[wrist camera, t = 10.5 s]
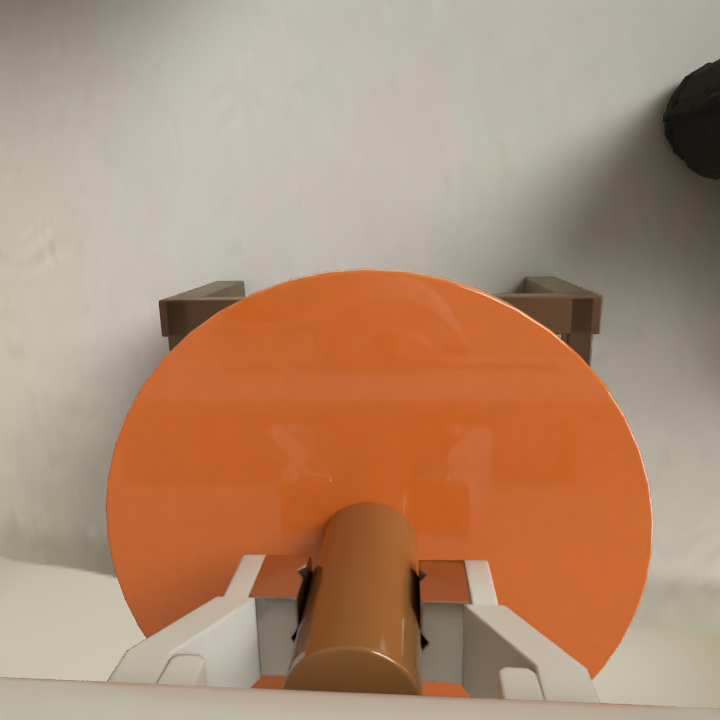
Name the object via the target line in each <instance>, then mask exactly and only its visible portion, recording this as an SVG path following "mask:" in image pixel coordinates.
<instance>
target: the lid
mask: <svg viewBox="0 0 720 720" xmlns="http://www.w3.org/2000/svg"><path fill="white" fill-rule="evenodd" d="M106 513H107V528H108V540H109V545H110V550H111V555H112V559H113V564H114V569H115V572H116V575H117V578H118V581H119V584H120V586H121V589H122V592H123V595H124V598H125V600H126V602H127V604H128V606H129V608H130V610H131V612H132V614H133V616H134V618H135V620H136V622H137V624H138V626H139V628H140V629H141V631H142V632H143V633H144V635H145V637H146V638H148V637H150V636H152V635H153V634H155V633H157V632H158V631H160V630H162V629H163V628H165V627H167V626H168V625H170V624H172V623H173V622H175V621H177V620H178V619H180V618H182V617H183V616H185V615H187V614H188V613H190V612H192V611H193V610H195V609H197V608H198V607H200V606H202V605H203V604H205V603H207V602H208V601H210V600H212V599H213V598H215V597H217V596H220V597H223V596H224V593H225V591H226V589H227V587H228V585H229V583H230V581H231V579H232V577H233V575H234V573H235V571H236V569H237V567H238V565H239V563H240V561H241V559H242V557H243V556H244V555H246V554H266V555H284V556H306V557H311V560H312V570H313V574H312V577H311V581H310V585H309V589H308V592H307V596H306V600H305V604H304V608H303V611H302V615H301V619H300V623H299V626H298V630H297V634H296V638H295V642H294V645H293V649H292V653H291V657H290V660H289V664H288V668H287V672H286V676H269V675H260V679H259V680H258V681H257V682H256V683H255V684H254V685H253V686H252V687H251V688H260V689H283V690H307V691H330V692H353V693H376V694H399V695H423V696H446V697H469V698H471V696H470V695H469V694H468V693H467V691H466V690H465V689H464V687H463V686H462V684H459V683H444V682H430V681H423V664H422V636H421V632H420V613H419V581H418V566H419V560H487V561H488V564H489V568H490V572H491V576H492V580H493V584H494V588H495V593H496V597H497V601H498V605H505V606H507V607H508V608H509V609H510V610H512V611H513V612H514V613H516V614H517V615H518V616H519V617H521V618H522V619H523V620H525V621H526V622H527V623H528V624H530V625H531V626H532V627H534V628H535V629H536V630H538V631H539V632H540V633H541V634H543V635H544V636H545V637H547V638H548V639H549V640H550V641H552V642H553V643H554V644H556V645H557V646H558V647H559V648H561V649H562V650H563V651H565V652H566V653H567V654H568V655H570V656H571V657H572V658H574V659H575V660H576V661H577V662H579V663H580V664H581V665H583V666H584V667H585V668H586V669H587V670H588V673H589V675H590V678H591V680H593V679H594V678H595V677H596V676H597V674H598V673H599V672H600V671H601V670H602V669H603V668H604V666H605V665H606V663H607V662H608V661H609V659H610V657H611V656H612V655H613V653H614V652H615V651H616V649H617V648H618V646H619V645H620V643H621V642H622V640H623V638H624V636H625V634H626V632H627V630H628V628H629V626H630V624H631V622H632V620H633V618H634V616H635V614H636V611H637V608H638V606H639V603H640V600H641V597H642V594H643V591H644V588H645V585H646V581H647V575H648V570H649V564H650V559H651V554H652V533H653V512H652V504H651V496H650V487H649V481H648V477H647V474H646V470H645V467H644V463H643V459H642V456H641V452H640V449H639V446H638V444H637V442H636V440H635V437H634V435H633V433H632V431H631V428H630V426H629V424H628V422H627V419H626V417H625V415H624V414H623V412H622V411H621V409H620V407H619V406H618V404H617V403H616V401H615V400H614V398H613V396H612V395H611V393H610V392H609V390H608V389H607V387H606V385H605V384H604V383H603V382H602V381H601V379H600V378H599V377H598V376H597V375H596V374H595V372H594V371H593V370H592V369H591V368H590V367H589V365H588V364H587V363H586V362H585V361H584V360H583V358H582V357H581V356H580V355H579V354H578V353H576V352H575V351H574V350H573V349H572V348H571V347H570V346H568V345H567V344H566V343H565V342H564V341H563V340H562V339H560V338H559V337H558V336H557V335H556V334H555V333H554V332H553V331H551V330H550V329H549V328H548V327H546V326H545V325H543V324H542V323H540V322H539V321H537V320H536V319H534V318H533V317H531V316H529V315H528V314H526V313H525V312H523V311H522V310H520V309H519V308H517V307H516V306H514V305H512V304H510V303H508V302H506V301H504V300H502V299H500V298H498V297H495V296H493V295H491V294H489V293H487V292H485V291H483V290H481V289H478V288H475V287H472V286H469V285H466V284H463V283H460V282H457V281H454V280H451V279H448V278H445V277H440V276H435V275H429V274H424V273H419V272H413V271H408V270H396V269H376V268H360V269H347V270H335V271H326V272H321V273H317V274H312V275H308V276H303V277H299V278H294V279H290V280H287V281H285V282H282V283H279V284H276V285H274V286H271V287H268V288H265V289H263V290H260V291H257V292H255V293H253V294H251V295H249V296H247V297H245V298H243V299H242V300H240V301H238V302H236V303H234V304H232V305H230V306H228V307H226V308H225V309H223V310H221V311H219V312H218V313H216V314H215V315H213V316H212V317H211V318H209V319H208V320H206V321H205V322H204V323H202V324H201V325H200V326H198V327H197V328H195V329H194V330H193V331H191V332H190V333H189V334H188V335H187V336H186V337H185V338H184V339H183V340H182V341H181V342H180V343H179V344H177V345H176V346H175V347H174V348H173V349H172V350H171V351H170V352H169V353H168V354H167V355H166V356H165V357H164V358H163V360H162V361H161V362H160V364H159V365H158V366H157V367H156V369H155V370H154V371H153V373H152V374H151V375H150V377H149V378H148V379H147V380H146V382H145V383H144V384H143V386H142V388H141V390H140V391H139V393H138V395H137V397H136V399H135V400H134V402H133V404H132V406H131V408H130V409H129V411H128V413H127V415H126V418H125V421H124V423H123V426H122V428H121V431H120V434H119V436H118V439H117V442H116V444H115V449H114V454H113V458H112V463H111V467H110V472H109V476H108V490H107V503H106Z"/></svg>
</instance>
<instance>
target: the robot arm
mask: <svg viewBox="0 0 720 720" xmlns="http://www.w3.org/2000/svg"><path fill="white" fill-rule="evenodd" d="M312 574H313V570H312V560H311V557H306V556H284V555H266V554H246V555H244V556H243V557H242V559H241V561H240V563H239V565H238V567H237V569H236V571H235V573H234V575H233V577H232V579H231V581H230V583H229V585H228V587H227V589H226V591H225V593H224V596H223V597H220V596H217V597H215V598H213V599H212V600H210V601H208V602H207V603H205V604H203V605H202V606H200V607H198V608H197V609H195V610H193V611H192V612H190V613H188V614H187V615H185V616H183V617H182V618H180V619H178V620H177V621H175V622H173V623H172V624H170V625H168V626H167V627H165V628H163V629H162V630H160V631H158V632H157V633H155V634H153V635H152V636H150V637H148V638H147V639H145V640H144V641H142V642H140V643H139V644H137V645H135V646H134V647H132V648H130V649H129V650H127V651H126V653H125V654H124V656H123V657H122V659H121V661H120V662H119V664H118V665H117V667H116V668H115V670H114V671H113V673H112V674H111V676H110V677H109V679H108V680H107V682H98V681H75V680H52V679H29V678H6V677H5V678H4V677H0V720H720V708H700V707H676V706H653V705H632V704H631V705H630V704H608V703H607V704H606V703H600V700H599V698H598V695H597V693H596V691H595V688H594V685H593V683H592V680H591V678H590V675H589V673H588V670H587V669H586V668H585V667H584V666H583V665H581V664H580V663H579V662H577V661H576V660H575V659H574V658H572V657H571V656H570V655H568V654H567V653H566V652H565V651H563V650H562V649H561V648H559V647H558V646H557V645H556V644H554V643H553V642H552V641H550V640H549V639H548V638H547V637H545V636H544V635H543V634H541V633H540V632H539V631H538V630H536V629H535V628H534V627H532V626H531V625H530V624H528V623H527V622H526V621H525V620H523V619H522V618H521V617H519V616H518V615H517V614H516V613H514V612H513V611H512V610H510V609H509V608H508V607H507V606H505V605H498V601H497V597H496V593H495V588H494V584H493V580H492V576H491V572H490V568H489V564H488V561H487V560H419V566H418V581H419V613H420V632H421V636H422V664H423V681H430V682H444V683H459V684H462V686H463V687H464V689H465V690H466V691H467V693H468V694H469V695H470V696H471V698H469V697H446V696H423V695H399V694H376V693H353V692H330V691H307V690H283V689H260V688H251V687H252V686H253V685H254V684H255V683H256V682H257V681H258V680H259V679H260V675H269V676H286V672H287V668H288V664H289V660H290V657H291V653H292V649H293V645H294V642H295V638H296V634H297V630H298V626H299V623H300V619H301V615H302V611H303V608H304V604H305V600H306V596H307V592H308V589H309V585H310V581H311V577H312Z"/></svg>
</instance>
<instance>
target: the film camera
mask: <svg viewBox="0 0 720 720" xmlns="http://www.w3.org/2000/svg"><path fill="white" fill-rule="evenodd" d="M663 122H665V136H666V138H667V140H668V142H669V143H670V145H671V146H672V148H673V151H674V153H675V154H677V155H678V156H679V157H680V158H681V159H682V160H684V161H685V162H686V164H687V166H688V168H690V169H691V170H693V171H694V172H696V173H697V174H699V175H701V176H703V177H706V178H711V179H716V180H718V179H720V59H719V60H717V61H715V62H713V63H707V64H705V65H704V66H702V67H701V68H699V69H697V70H696V71H694V72H692V73H691V74H689V75H687V76H686V77H685V78H684V79H683V81H682V82H681V84H680V85H679V87H678V88H677V90H676V91H675V92H674V94H673V95H672V97H671V99H670V101H669V103H668V106H667V110H666V113H665V114H664V115H663Z"/></svg>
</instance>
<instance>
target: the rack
mask: <svg viewBox="0 0 720 720" xmlns="http://www.w3.org/2000/svg"><path fill="white" fill-rule="evenodd" d="M491 295H493V296H495V297H498V298H500V299H502V300H504V301H506V302H508V303H510V304H512V305H514V306H516V307H517V308H519V309H520V310H522V311H523V312H525V313H526V314H528V315H529V316H531V317H533V318H534V319H536V320H537V321H539V322H540V323H542V324H543V325H545V326H546V327H548V328H549V329H550V330H551V331H553V332H554V333H555V334H561V339H562V340H563V341H564V342H565V343H566V344H567V345H568V346H570V347H571V348H572V349H573V350H574V351H575V352H576V353H578V354H579V355H580V356H581V357H582V358H583V360H584V361H585V362H586V363H587V364H588V365H589V367H591V354H592V340H593V334H600V327H601V315H602V302H603V296H601V295H599V294H596V293H594V292H591V291H588V290H586V289H583V288H581V287H578V286H576V285H573V284H571V283H568V282H566V281H563V280H561V279H558V278H556V277H525V281H524V293H523V294H491ZM243 298H245V291H244V281H216V282H213V283H210V284H207V285H204V286H201V287H198V288H195V289H192V290H189V291H186V292H183V293H180V294H177V295H175V296H172V297H169V298H166V299H163V300H160V301H159V309H160V319H161V329H162V336H164V337H168V339H169V349H170V351H171V350H172V349H173V348H174V347H175V346H176V345H177V344H179V343H180V342H181V341H182V340H183V339H184V338H185V337H186V336H187V335H188V334H189V333H190V332H191V331H193V330H194V329H195V328H197V327H198V326H200V325H201V324H202V323H204V322H205V321H206V320H208V319H209V318H211V317H212V316H213V315H215V314H216V313H218V312H219V311H221V310H223V309H225V308H226V307H228V306H230V305H232V304H234V303H236V302H238V301H240V300H242V299H243Z"/></svg>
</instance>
